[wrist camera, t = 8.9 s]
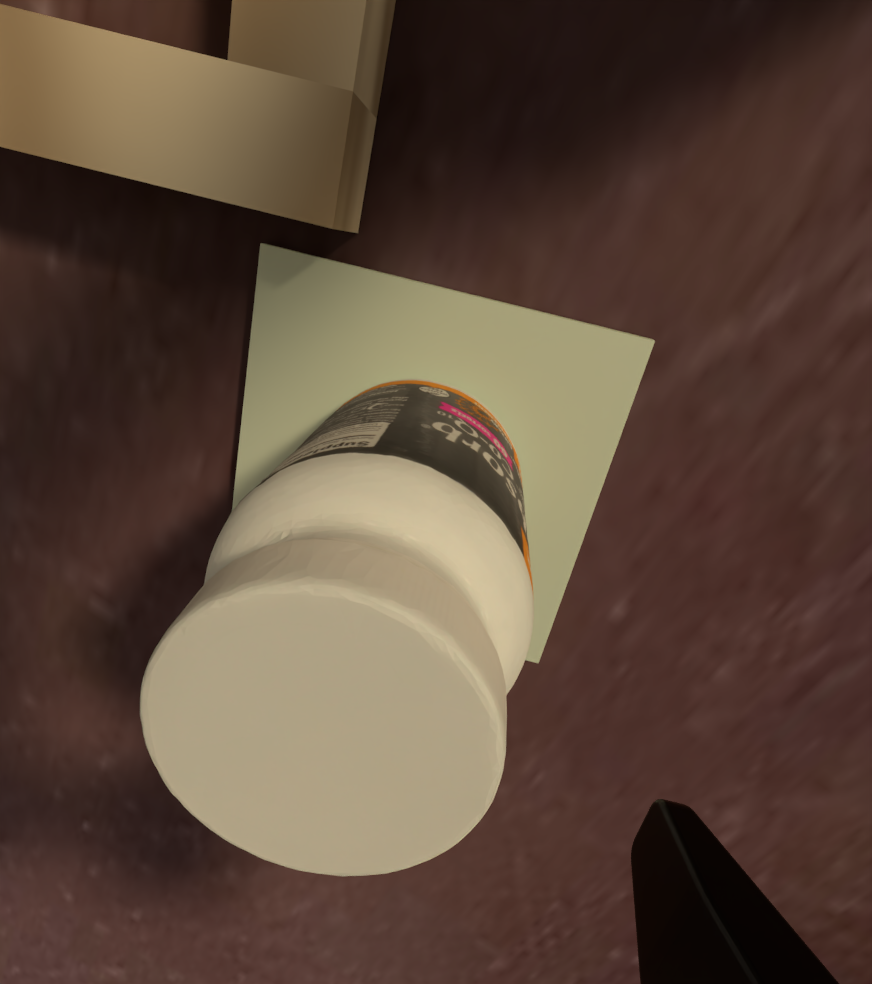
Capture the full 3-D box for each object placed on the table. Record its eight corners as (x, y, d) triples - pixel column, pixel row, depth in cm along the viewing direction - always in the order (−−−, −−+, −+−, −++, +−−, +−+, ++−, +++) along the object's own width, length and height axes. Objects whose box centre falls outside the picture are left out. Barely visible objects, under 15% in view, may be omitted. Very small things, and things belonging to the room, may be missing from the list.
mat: (651, 338, 15) (655, 340, 15) (537, 655, 19) (538, 663, 18) (265, 243, 15) (260, 242, 15) (229, 579, 19) (224, 585, 18)
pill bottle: (558, 508, 17) (640, 825, 7) (390, 598, 18) (284, 951, 9) (447, 329, 15) (377, 448, 6) (274, 444, 17) (2, 678, 7)
